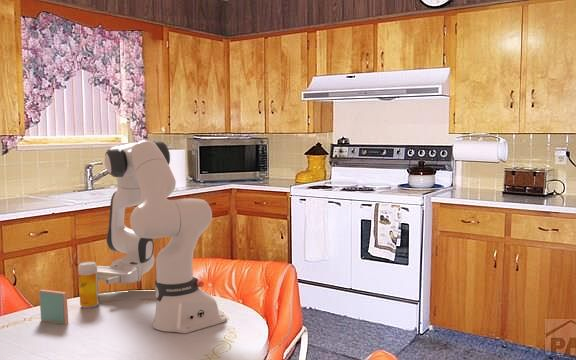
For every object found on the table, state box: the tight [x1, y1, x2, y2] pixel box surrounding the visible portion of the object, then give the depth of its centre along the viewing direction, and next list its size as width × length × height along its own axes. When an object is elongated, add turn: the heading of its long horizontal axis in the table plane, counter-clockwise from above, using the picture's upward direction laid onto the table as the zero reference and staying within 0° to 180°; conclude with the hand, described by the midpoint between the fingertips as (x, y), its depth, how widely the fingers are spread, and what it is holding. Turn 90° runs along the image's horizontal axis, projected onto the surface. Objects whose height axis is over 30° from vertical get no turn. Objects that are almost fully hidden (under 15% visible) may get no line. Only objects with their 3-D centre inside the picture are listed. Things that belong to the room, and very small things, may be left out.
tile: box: [38, 289, 69, 325], centre depth 172 cm, size 1×10×10 cm, turn 69°
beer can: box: [77, 261, 100, 309], centre depth 187 cm, size 6×6×15 cm
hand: (96, 280), depth 191 cm, fingers open, 8 cm apart
